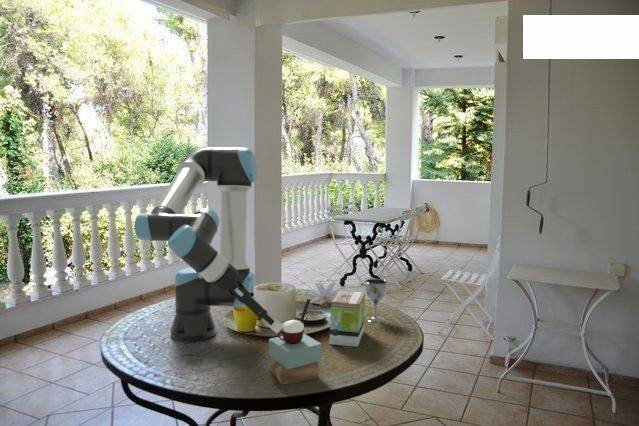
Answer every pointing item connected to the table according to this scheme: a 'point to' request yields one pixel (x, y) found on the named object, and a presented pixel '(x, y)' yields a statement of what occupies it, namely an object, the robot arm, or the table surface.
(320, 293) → the water lily
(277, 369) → the tower base
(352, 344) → the tea box
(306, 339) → the tower top
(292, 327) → the cocoa
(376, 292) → the wine glass
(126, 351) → the table surface
